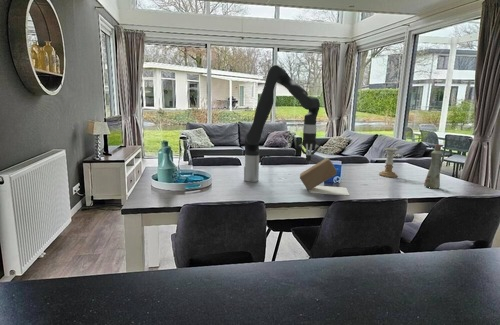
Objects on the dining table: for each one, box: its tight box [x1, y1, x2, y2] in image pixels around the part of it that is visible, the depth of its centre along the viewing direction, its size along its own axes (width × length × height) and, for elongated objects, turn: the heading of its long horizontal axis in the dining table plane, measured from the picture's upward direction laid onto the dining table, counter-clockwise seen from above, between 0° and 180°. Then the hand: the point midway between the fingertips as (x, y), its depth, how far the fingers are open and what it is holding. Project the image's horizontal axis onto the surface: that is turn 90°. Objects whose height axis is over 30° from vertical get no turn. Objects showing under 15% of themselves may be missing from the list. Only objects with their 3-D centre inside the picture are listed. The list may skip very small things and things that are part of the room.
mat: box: [309, 185, 350, 196], centre depth 194 cm, size 22×16×1 cm
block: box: [299, 157, 338, 191], centre depth 193 cm, size 10×10×20 cm
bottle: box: [423, 143, 443, 189], centre depth 204 cm, size 9×9×28 cm
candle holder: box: [378, 147, 400, 178], centre depth 235 cm, size 12×12×20 cm
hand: (308, 161), depth 193 cm, fingers closed
